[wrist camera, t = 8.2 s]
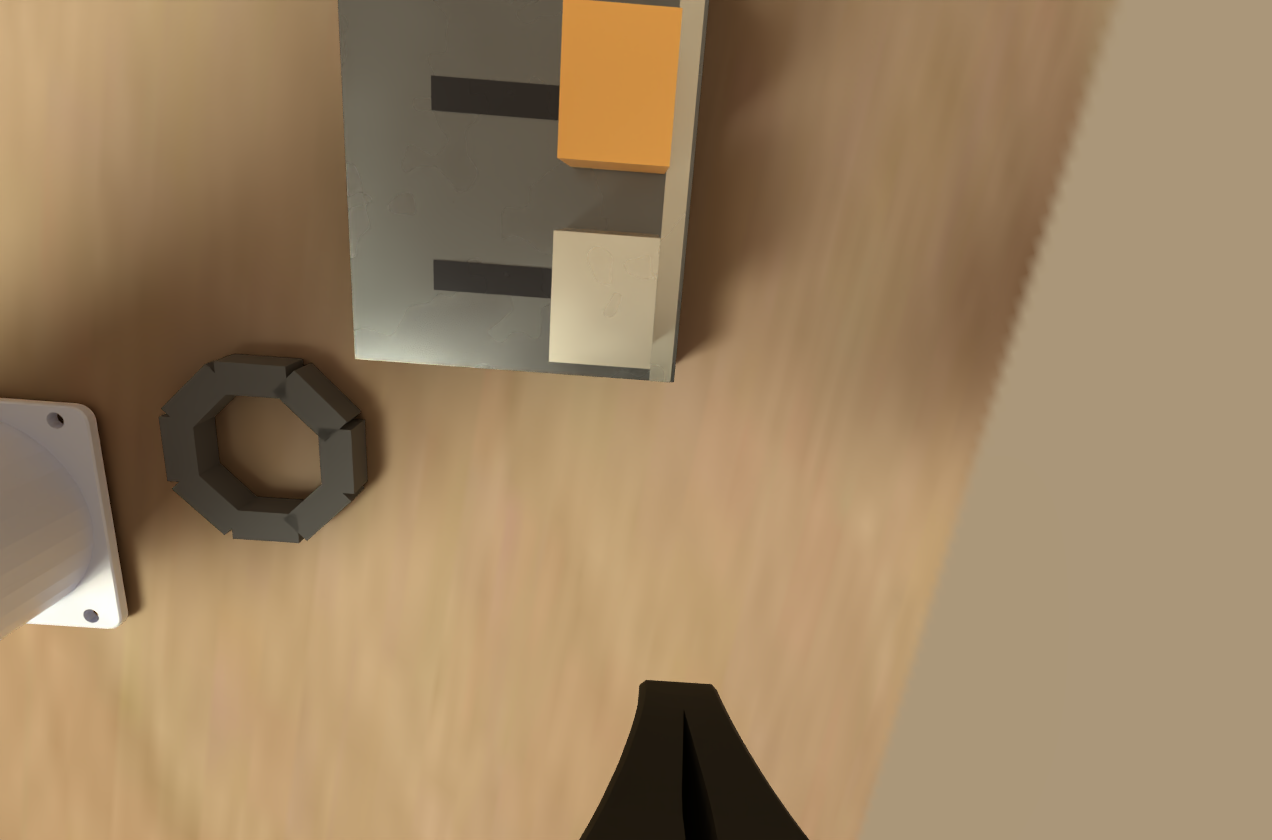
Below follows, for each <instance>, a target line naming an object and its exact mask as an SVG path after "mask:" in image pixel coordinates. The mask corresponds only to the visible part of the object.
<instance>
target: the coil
mask: <svg viewBox="0 0 1272 840" xmlns="http://www.w3.org/2000/svg"><path fill="white" fill-rule="evenodd" d="M236 395H238V396H252V397H266V398H279V399H280V400H281V401H282V402H283V403H284V404H285V405H286V406H288V407H289V408H290V409H291V410H292V411H293V412H294V413H295V414H296V415H297V416H298V417H299V418H300V419H301V420H302V421H303V422H304V423H305V424H306V425H307V426H308V427H310V428H311V429H312V430H313V431H314V432H315V433H316V434H317V435H318V437H319V452H320V467H321V483H322V484H321V485H320V486H319V487H318V488H317V489H316V490H315V491H313V492H312V493H311V494H310V495H309V496H308V497H307V498H306V499H305V500H298V499H284V498H269V497H257V496H256V495H254V494H253V493H252V492H251V491H250V490H249V489H248V488H247V487H246V486H245V485H243V484H242V483H241V482H240V481H239V480H238V479H237V478H236V477H235V476H233V475H232V474H231V473H230V472H229V471H228V470H227V469H226V468H225V467H224V466H222V465H221V464H220V461H219V452H218V443H217V434H216V425H215V416H216V415H217V414H218V413H219V412H220V411H221V410H222V409H223V408H224V407H225V406H226V405H227V404H228V403H229V402H230V401H231V400H232V399H233V398H234V397H235V396H236ZM161 409H162V410H163V411H164V412H165V413H166V414H164V415H161V416H159V423H160V430H161V437H162V445H163V452H164V459H165V466H166V474H167V481H176V482H179V483H177V484H176V485H175V486H174V487H173V488H172V489H173V490H174V491H175V492H176V493H177V494H178V495H179V496H181V497H182V498H183V499H184V500H185V501H186V502H187V503H189V504H190V505H191V506H192V507H193V508H194V509H195V510H197V511H198V512H199V513H200V514H201V515H202V516H203V517H205V518H206V519H207V520H208V521H209V522H210V523H211V524H213V525H214V526H215V527H216V528H217V529H218V530H219V531H220V532H222V533H223V534H224V535H225V534H227V533H228V532H229V531H230V530H232V533H233V539H247V540H262V541H276V542H291V543H300V542H301V541H302V540H303V539H304V538H305V539H306V540H308V539H309V538H311V537H312V536H313V535H314V534H315V533H316V532H317V531H318V530H320V529H321V528H322V527H323V526H324V525H325V524H326V523H327V522H329V521H330V520H331V519H332V518H333V517H334V516H335V515H336V514H338V513H339V512H340V511H341V510H342V509H343V508H344V507H345V506H347V505H348V504H349V503H350V502H351V501H352V500H353V499H354V498H355V497H356V496H357V495H358V494H359V493H360V492H361V491H362V490H363V489H364V487H363V485H364V484H365V483H366V482H367V481H368V479H367V456H366V434H365V420H361V419H354V418H355V417H356V416H357V415H358V414H359V413H360V412H361V411H360V410H359V409H358V408H357V407H356V406H355V405H354V404H353V403H352V402H351V401H350V400H349V399H348V398H347V397H346V396H345V395H344V394H343V393H342V392H341V391H340V390H339V389H338V388H337V387H336V386H335V385H334V384H332V383H331V382H330V381H329V380H328V379H327V378H326V377H325V376H324V375H323V374H322V373H321V372H320V371H319V370H318V369H317V368H316V367H315V366H314V365H313V364H312V363H310V364H307V365H305V366H303V359H298V358H284V357H270V356H257V355H243V354H233V355H230V356H227V357H224V358H221V359H218V360H215V361H213V362H210V363H207V364H205V365H204V366H203V367H202V368H201V369H200V370H199V371H198V372H197V373H196V374H195V375H194V376H193V377H192V378H191V379H190V380H189V381H188V382H187V383H186V384H185V385H184V386H183V387H182V388H181V389H180V390H179V391H178V392H177V393H176V394H175V395H174V396H173V397H172V398H171V399H170V400H169V401H168V402H167V403H166V404H165V405H164V406H163V407H162V408H161Z"/></svg>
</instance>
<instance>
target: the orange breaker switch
mask: <svg viewBox="0 0 1272 840" xmlns="http://www.w3.org/2000/svg"><path fill="white" fill-rule="evenodd" d="M682 10H683V8H678V7H666V6H654V5H642V4H630V3H617V2H605V1H593V0H563V15H562V42H561V69H560V96H559V123H558V150H557V158H558V159H560V160H561V161H563V162H564V163H566V164H567V165H569V166H570V167H579V168H592V169H604V170H617V171H630V172H643V173H656V174H665V173H666V171H667V170H668V168H669V167H670V155H671V143H672V131H673V119H674V107H675V95H676V83H677V70H678V58H679V46H680V34H681V22H682Z"/></svg>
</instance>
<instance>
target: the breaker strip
mask: <svg viewBox="0 0 1272 840" xmlns="http://www.w3.org/2000/svg"><path fill="white" fill-rule="evenodd" d="M593 1H605V2H617V3H630V4H642V5H654V6H666V7H678V8H683V10H682V22H681V34H680V46H679V58H678V70H677V83H676V95H675V107H674V119H673V131H672V143H671V155H670V167H669V168H668V170H667V171H666V173H665V174H656V173H643V172H630V171H617V170H604V169H592V168H579V167H570V166H569V165H567V164H566V163H564V162H563V161H561V160H560V159H558V158H557V150H558V123H559V96H560V69H561V42H562V15H563V0H338V13H339V34H340V55H341V76H342V97H343V118H344V138H345V159H346V180H347V201H348V222H349V243H350V264H351V284H352V305H353V326H354V347H355V359H362V360H376V361H389V362H403V363H417V364H431V365H444V366H458V367H472V368H485V369H499V370H513V371H527V372H540V373H554V374H568V375H582V376H595V377H609V378H623V379H636V380H649V381H658V382H674V375H675V364H676V353H677V342H678V331H679V320H680V310H681V299H682V288H683V277H684V266H685V256H686V245H687V234H688V223H689V212H690V201H691V191H692V180H693V169H694V158H695V147H696V136H697V126H698V115H699V104H700V93H701V82H702V71H703V61H704V50H705V39H706V28H707V17H708V6H709V0H593Z"/></svg>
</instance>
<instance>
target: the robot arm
mask: <svg viewBox="0 0 1272 840" xmlns="http://www.w3.org/2000/svg"><path fill="white" fill-rule="evenodd" d="M57 414H59V415H60V416H61V417H62V418H63V420H64V424H62V423H61V422H60V421H59V420H58V418H57ZM93 610H94V611H95V612H97V613H98V615H99V616H98V615H96V614H95V613H94V612H93ZM127 617H128V609H127V603H126V597H125V591H124V585H123V579H122V573H121V566H120V560H119V554H118V548H117V542H116V536H115V530H114V524H113V518H112V512H111V506H110V500H109V494H108V488H107V482H106V476H105V470H104V464H103V458H102V452H101V446H100V440H99V434H98V428H97V421H96V418H95V415H94V413H93V412H92V411H91V410H90V408H88V407H86V406H85V405H82V404H78V403H66V402H52V401H38V400H24V399H10V398H0V640H2V639H3V638H5V637H6V636H8V635H9V634H11V633H12V632H14V631H15V630H17V629H18V628H20V627H21V626H23V625H24V624H26V623H28V624H43V625H58V626H74V627H89V628H104V629H113V628H116V627H118V626H119V625H121V624H122V623H123V622H124V621H126V619H127ZM580 840H809V839H808V838H807V836H806V835H805V834H804V832H803V831H802V830H801V829H800V827H799V826H798V825H797V823H796V822H795V821H794V819H793V818H792V816H791V815H790V814H789V812H788V811H787V809H786V808H785V807H784V805H783V804H782V802H781V801H780V799H779V798H778V797H777V795H776V794H775V792H774V791H773V789H772V788H771V786H770V785H769V783H768V782H767V780H766V779H765V777H764V775H763V774H762V772H761V771H760V769H759V767H758V766H757V764H756V763H755V761H754V759H753V758H752V756H751V754H750V753H749V751H748V749H747V748H746V746H745V744H744V743H743V741H742V739H741V737H740V736H739V734H738V732H737V730H736V728H735V726H734V725H733V723H732V721H731V719H730V717H729V715H728V713H727V711H726V709H725V707H724V705H723V703H722V701H721V699H720V697H719V694H718V692H717V690H716V689H715V688H714V687H713V685H712V684H698V683H683V682H668V681H653V680H646V681H644V682H643V683H642V684H640V686H639V697H638V706H637V710H636V714H635V718H634V721H633V725H632V728H631V731H630V734H629V737H628V739H627V742H626V745H625V747H624V750H623V753H622V755H621V758H620V761H619V763H618V765H617V768H616V770H615V772H614V774H613V776H612V778H611V781H610V783H609V785H608V787H607V789H606V791H605V793H604V796H603V798H602V800H601V802H600V804H599V806H598V807H597V809H596V811H595V813H594V815H593V817H592V819H591V820H590V822H589V824H588V826H587V828H586V829H585V831H584V833H583V834H582V836H581V838H580Z"/></svg>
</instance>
